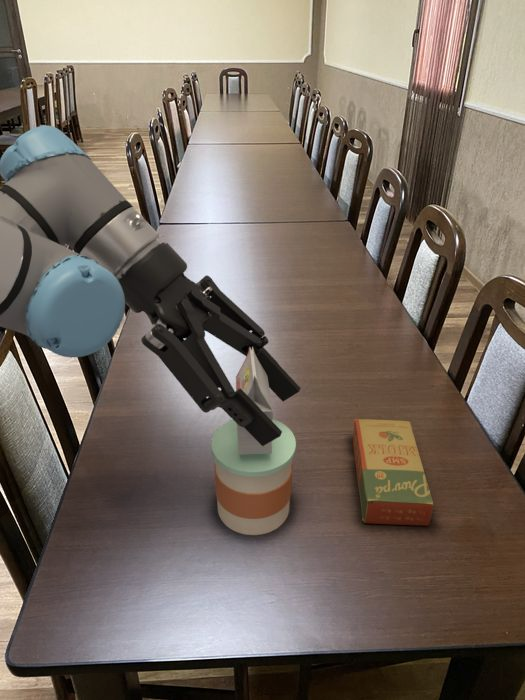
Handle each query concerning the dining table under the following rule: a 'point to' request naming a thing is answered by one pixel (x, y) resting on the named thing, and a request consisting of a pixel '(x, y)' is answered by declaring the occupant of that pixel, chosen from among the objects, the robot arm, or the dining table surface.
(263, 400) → the paper tea packet
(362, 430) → the carton
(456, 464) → the dining table surface
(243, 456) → the coffee cup
